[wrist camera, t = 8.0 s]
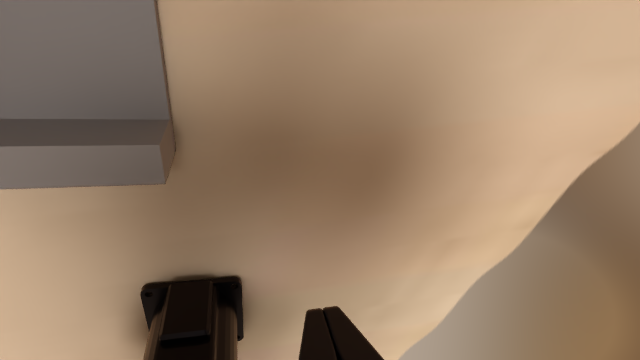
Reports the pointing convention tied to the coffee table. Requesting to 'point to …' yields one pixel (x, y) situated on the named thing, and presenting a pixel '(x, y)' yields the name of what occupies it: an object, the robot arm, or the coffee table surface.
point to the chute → (83, 94)
